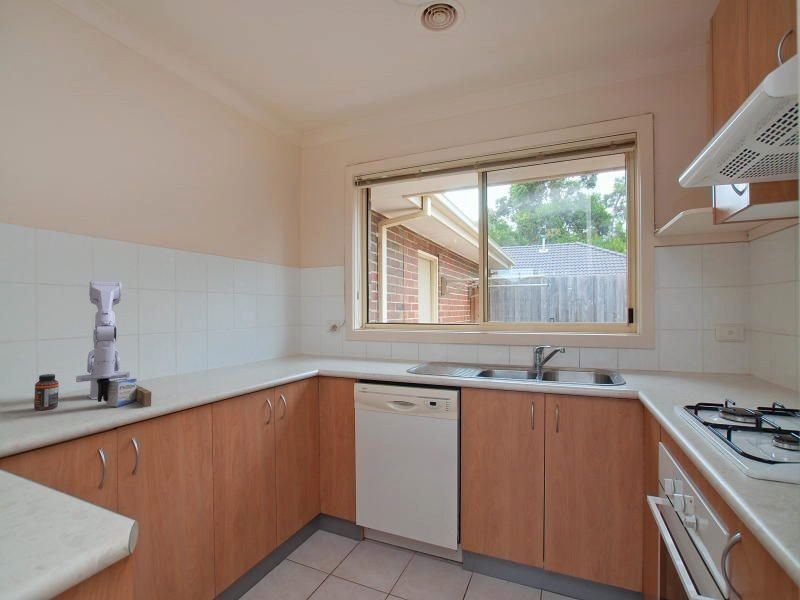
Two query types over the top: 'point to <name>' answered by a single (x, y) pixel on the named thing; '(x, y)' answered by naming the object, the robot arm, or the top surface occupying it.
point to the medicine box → (121, 392)
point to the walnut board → (143, 396)
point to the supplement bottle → (46, 393)
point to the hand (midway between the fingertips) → (103, 401)
